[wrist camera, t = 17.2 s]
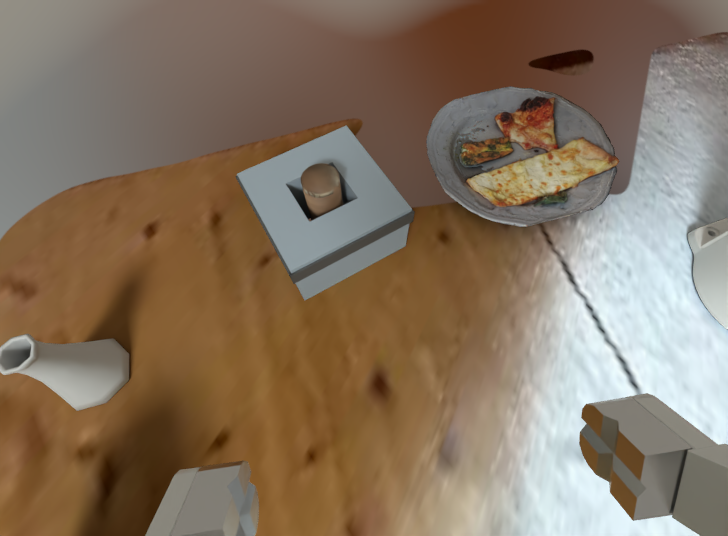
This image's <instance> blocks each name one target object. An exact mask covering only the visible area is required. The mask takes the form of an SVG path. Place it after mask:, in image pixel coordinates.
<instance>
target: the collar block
mask: <svg viewBox="0 0 728 536" xmlns="http://www.w3.org/2000/svg"><path fill="white" fill-rule="evenodd" d="M318 163H324V164H329V165H331V166H333V167H334V168H335V169H336V170H337V171H338V173H339V177H340V185H341V193H342V201H343V206H341V207H339V208H337V209H335V210H333V211H331V212H328V213H326V214H324V215H322V216H320V217H318V218H316V219H314V220H312V221H310V222H309V221H308V219H309V218H311V217H310V213H309V210H308V206H307V202H306V199H305V195H304V192H303V188H302V185H301V175H302V173H303V172H304V170H305V169H307V168H308V167H309V166H311V165H314V164H318ZM236 178H237V180H238V182H239V184H240V186H241V188H242V190H243V191H244V193H245V195H246V197H247V199H248V201H249V202H250V204H251V206H252V208H253V210H254V212H255V213H256V215H257V217H258V219H259V221H260V223H261V224H262V226H263V228H264V230H265V232H266V234H267V235H268V237H269V239H270V241H271V243H272V245H273V246H274V248H275V250H276V252H277V254H278V256H279V257H280V259H281V261H282V263H283V265H284V267H285V268H286V270H287V272H288V274H289V276H290V278H291V280H292V281H293V283H294V284H296V285H297V287H298V289H299V291H300V293H301V295H302V296H303V298H304V300H307V299H308V298H310V297H312V296H314V295H316V294H318V293H320V292H321V291H323V290H325V289H327V288H329V287H331V286H333V285H334V284H336V283H338V282H340V281H342V280H344V279H346V278H347V277H349V276H351V275H353V274H355V273H357V272H359V271H360V270H362V269H364V268H366V267H368V266H370V265H371V264H373V263H375V262H377V261H379V260H381V259H383V258H384V257H386V256H388V255H390V254H392V253H394V252H396V251H397V250H399V249H401V248H403V247H405V246H406V240H407V234H408V228H409V223H411V222H413V218H414V211H413V209H412V208H411V207H410V206H409V204H408V203H407V202H406V201H405V199H404V198H403V197H402V196H401V194H400V193H399V192H398V191H397V189H396V188H395V187H394V185H393V184H392V183H391V182H390V180H389V179H388V178H387V176H386V175H385V174H384V173H383V171H382V170H381V169H380V167H379V166H378V165H377V164H376V163H375V161H374V160H373V159H372V158H371V156H370V155H369V154H368V152H367V151H366V150H365V149H364V147H363V146H362V145H361V143H360V142H359V141H358V140H357V138H356V137H355V136H354V134H353V133H352V132H351V131H350V129H349V128H348V127H347V126H344V127H342V128H340V129H337V130H335V131H333V132H331V133H328V134H326V135H324V136H322V137H319V138H317V139H315V140H312V141H310V142H308V143H306V144H303V145H301V146H299V147H297V148H294V149H292V150H290V151H288V152H285V153H283V154H281V155H279V156H276V157H274V158H272V159H269V160H267V161H265V162H263V163H260V164H258V165H256V166H254V167H251V168H249V169H247V170H245V171H242V172H240V173H238V174H237V176H236Z"/></svg>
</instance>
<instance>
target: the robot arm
mask: <svg viewBox="0 0 728 536" xmlns="http://www.w3.org/2000/svg"><path fill="white" fill-rule="evenodd" d="M688 241H689V244H690V247H691V249H692V252H693V254H694V265H693V278H694V283H695V287H696V289H697V292H698V294H699V296H700V298H701V300H702V302H703V303H704V305H705V306H706V308H707V309H708V311H709V312H710V313H711V314H712V315H713V317H714V318H715V319H716V320H717V321H718V322H719V323H720V324H721V325H722V326H723V327H725V328H726V329H727V330H728V218H725V219H722V220H719V221H716V222H714V223H711V224H708V225H705V226H702V227H699V228H697V229H695V230H693V231H691V232H690V233H689V234H688ZM582 419H583V420H584V421H585V422H586V423H587V424H586V425H585V427H584V428H583V429H582V430H581V432H580V442H579V443H580V447H581V450H582V454H583V456H584V458H585V460H586V462H587V463H588V465H589V466H590V468H591V469H592V470H593V471H594V473H595V474H596V475H598V476H599V477H601V478H603V479H605V480H607V481H608V482H609V485H610V493H611V494H612V495H613V496H614V498H615V499H616V500H617V501H618V503H619V504H620V505H621V506H622V507H623V509H624V510H625V511H626V512H627V514H628V515H629V516H630V517H631V519H632V520H633V521H634V520H641V519H647V518H654V517H661V516H668V515H673V516H672V517H673V518H674V519H676V520H677V521H679V522H680V523H682V524H683V525H685V526H686V527H688V528H689V529H691V530H692V531H694V532H696V533H697V534H699V535H700V536H728V445H727V444H721V445H718V444H716V443H715V442H714V441H712V440H711V439H710V438H709V437H707V436H706V435H705V434H703V433H702V432H701V431H699V430H698V429H697V428H696V427H694V426H693V425H692V424H690V423H689V422H688V421H686V420H685V419H684V418H682V417H681V416H680V415H679V414H677V413H676V412H675V411H673V410H672V409H671V408H669V407H668V406H667V405H666V404H664V403H663V402H662V401H660V400H659V399H658V398H656V397H655V396H653V395H650V394H641V395H635V396H630V397H626V398H618V399H613V400H607V401H601V402H596V403H590V404H586V405H585V406H584V408H583V409H582ZM250 475H251V470H250V467H249V464H248V462H247V461H238V462H230V463H223V464H216V465H208V466H202V467H197V468H190V469H182V470H179V471H178V472H177V473H176V474H175V475H174V477H173V479H172V481H171V483H170V485H169V487H168V489H167V491H166V493H165V495H164V497H163V499H162V501H161V504H160V506H159V508H158V510H157V512H156V514H155V516H154V518H153V520H152V522H151V524H150V526H149V529H148V531H147V533H146V535H145V536H254V535H255V534H256V531H257V525H258V518H259V501H258V494H257V490H256V487H255V486H254V485H253V484H251V483H250V482H249V479H250Z"/></svg>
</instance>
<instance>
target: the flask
mask: <svg viewBox="0 0 728 536" xmlns="http://www.w3.org/2000/svg"><path fill="white" fill-rule="evenodd" d="M0 372H1V373H2V374H4V375H8V374H12V373H21V374H26V375H28V376H31V377H33V378H35V379H37V380H39V381H41V382H43V383H44V384H45V385H47V386H48V387H49V388H51V389H52V390H53V391H54V392H56V393H57V394H58V395H60V396H61V397H62V398H63V399H64V400H65V401H66V402H67V403H69V404H70V405H71V406H72V407H73V408H75V409H76V410H77V411H79V410H82V409H86V408H89V407H93V406H97V405H100V404H104V403H107V402H108V401H109V400H110V399H111V398H112V397H113V396H114V395H115V394H116V393H117V392H118V391H119V390H120V389H121V388H122V387H123V386H124V385H125V384H126V383H127V382H128V381H129V353H128V352H127V351H126V350H125V349H124V348H123V347H122V346H121V345H120V344H119V343H118V342H117V341H116V340H115V339H105V340H97V341H90V342H81V343H71V344H52V343H43V342H39V341H36V340H35V339H34V338H33V337H32V336H31V335H29V334H24V335H21V336H17V337H13V338H11V339H9V340H8V341H7V342H6V343H5V344H3V345H2V346H1V347H0Z"/></svg>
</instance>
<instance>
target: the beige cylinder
mask: <svg viewBox="0 0 728 536" xmlns="http://www.w3.org/2000/svg"><path fill="white" fill-rule="evenodd" d="M301 185H302V188H303V192H304V195H305V199H306V202H307V206H308V210H309V213H310V217H311V220H314V219H316V218H318V217H320V216H322V215H324V214H326V213H328V212H331V211H333V210H335V209H337V208H339V207H341V206H343V201H342V193H341V185H340V177H339V173H338V171H337V170H336V169H335V168H334V167H333V166H331V165H329V164H324V163H318V164H314V165H311V166H309V167H308V168H307V169H305V170H304V172H303V173H302V175H301Z"/></svg>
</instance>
